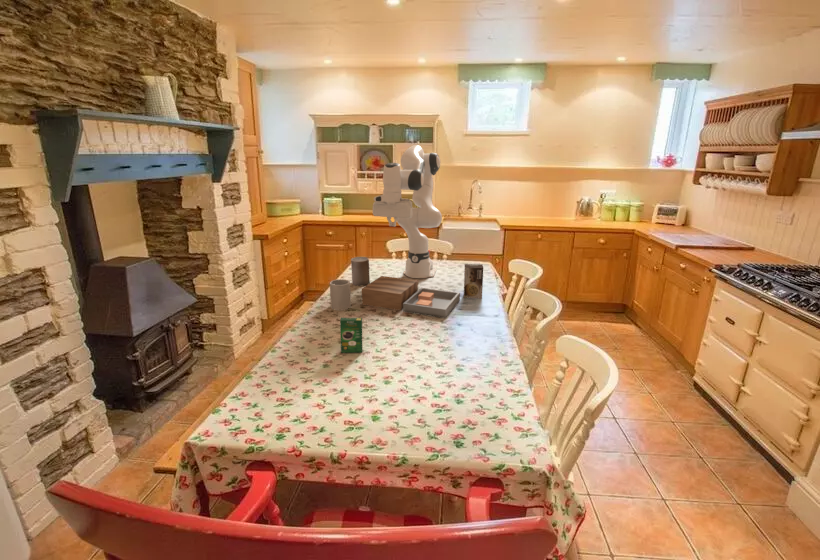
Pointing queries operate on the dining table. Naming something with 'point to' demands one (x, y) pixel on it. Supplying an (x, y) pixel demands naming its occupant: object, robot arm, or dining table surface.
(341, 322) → the coffee box
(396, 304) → the brown wooden block
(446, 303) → the box
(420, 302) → the terracotta tile
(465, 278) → the coffee box
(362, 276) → the pillar candle
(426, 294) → the terracotta tile
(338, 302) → the cup
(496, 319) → the dining table surface
